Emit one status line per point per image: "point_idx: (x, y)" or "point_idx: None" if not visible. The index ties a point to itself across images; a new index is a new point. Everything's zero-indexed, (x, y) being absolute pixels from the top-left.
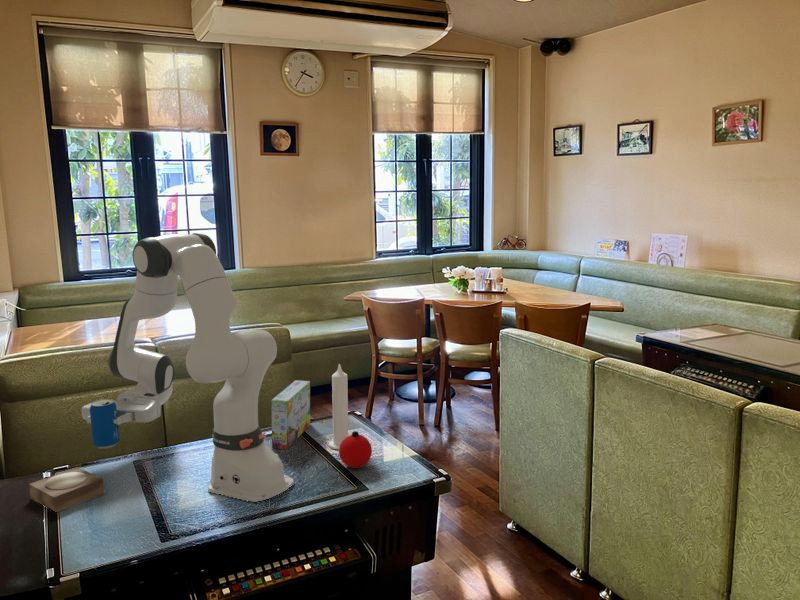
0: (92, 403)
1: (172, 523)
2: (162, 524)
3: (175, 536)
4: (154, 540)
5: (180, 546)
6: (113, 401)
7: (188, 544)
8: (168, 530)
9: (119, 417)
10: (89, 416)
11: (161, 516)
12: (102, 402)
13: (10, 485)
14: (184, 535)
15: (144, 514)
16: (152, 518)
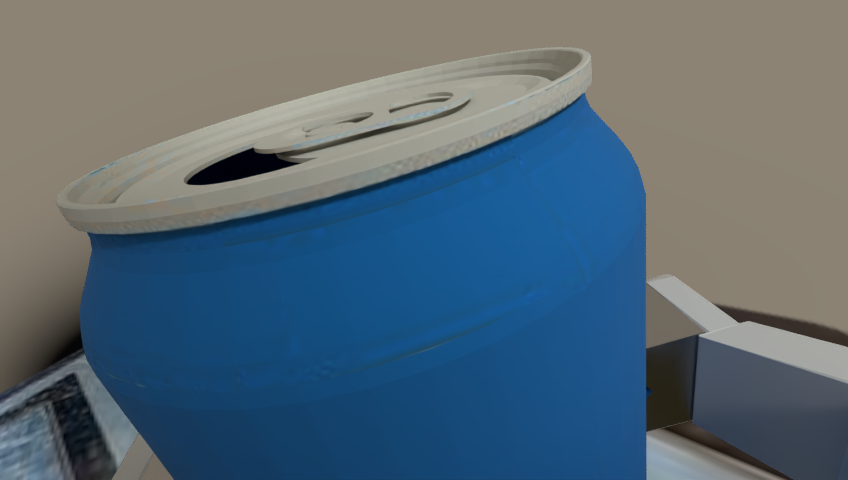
0: (522, 70)
1: (37, 434)
2: (69, 419)
3: (36, 399)
4: (91, 369)
5: (29, 381)
6: (70, 185)
7: (7, 393)
8: (53, 408)
9: (135, 451)
10: (664, 293)
11: (71, 446)
12: (364, 122)
13: (776, 324)
14: (10, 411)
15: (129, 430)
16: (101, 426)
